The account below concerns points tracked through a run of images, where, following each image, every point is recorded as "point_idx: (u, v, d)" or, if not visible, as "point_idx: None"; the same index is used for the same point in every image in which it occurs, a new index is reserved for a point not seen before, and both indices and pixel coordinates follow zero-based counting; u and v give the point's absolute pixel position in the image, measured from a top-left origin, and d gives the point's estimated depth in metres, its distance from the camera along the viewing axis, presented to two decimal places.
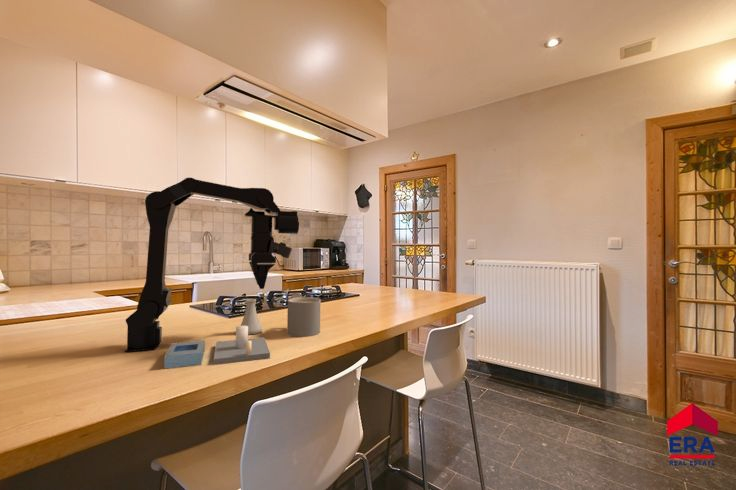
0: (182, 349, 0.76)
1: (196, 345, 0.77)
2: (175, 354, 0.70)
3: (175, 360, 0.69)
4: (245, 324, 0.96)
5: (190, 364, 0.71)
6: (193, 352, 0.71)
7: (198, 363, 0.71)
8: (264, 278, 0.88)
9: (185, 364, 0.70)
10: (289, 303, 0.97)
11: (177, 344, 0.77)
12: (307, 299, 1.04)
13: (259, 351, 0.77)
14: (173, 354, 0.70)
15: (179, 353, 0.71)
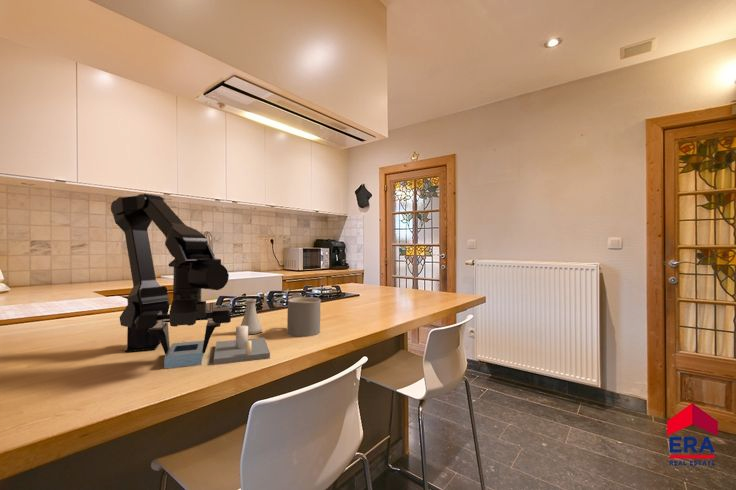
0: (182, 349, 0.76)
1: (196, 345, 0.77)
2: (175, 354, 0.70)
3: (175, 360, 0.69)
4: (245, 324, 0.96)
5: (190, 364, 0.71)
6: (193, 352, 0.71)
7: (198, 363, 0.71)
8: None
9: (185, 364, 0.70)
10: (289, 303, 0.97)
11: (177, 344, 0.77)
12: (307, 299, 1.04)
13: (259, 351, 0.77)
14: (173, 354, 0.70)
15: (179, 353, 0.71)
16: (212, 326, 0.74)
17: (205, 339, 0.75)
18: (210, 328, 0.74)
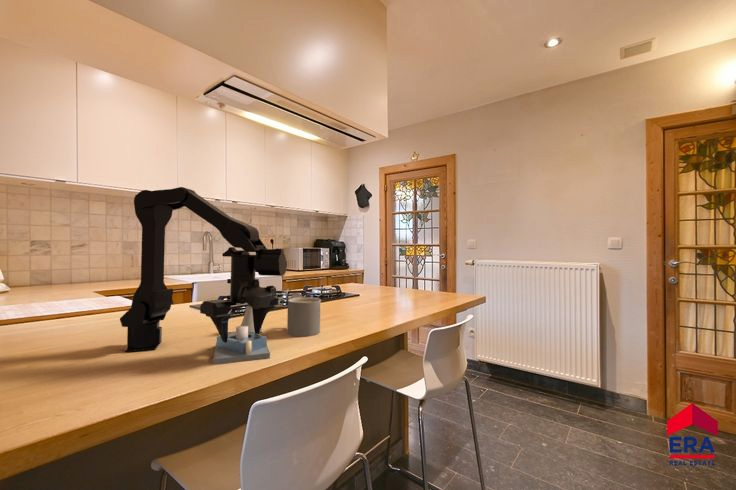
0: None
1: None
2: None
3: None
4: (245, 324, 0.96)
5: (259, 348, 0.79)
6: (259, 337, 0.80)
7: (264, 346, 0.80)
8: (222, 331, 0.75)
9: (256, 348, 0.78)
10: (289, 303, 0.97)
11: None
12: (307, 299, 1.04)
13: (259, 351, 0.77)
14: None
15: (249, 340, 0.77)
16: (270, 308, 0.84)
17: (261, 321, 0.84)
18: (267, 310, 0.84)
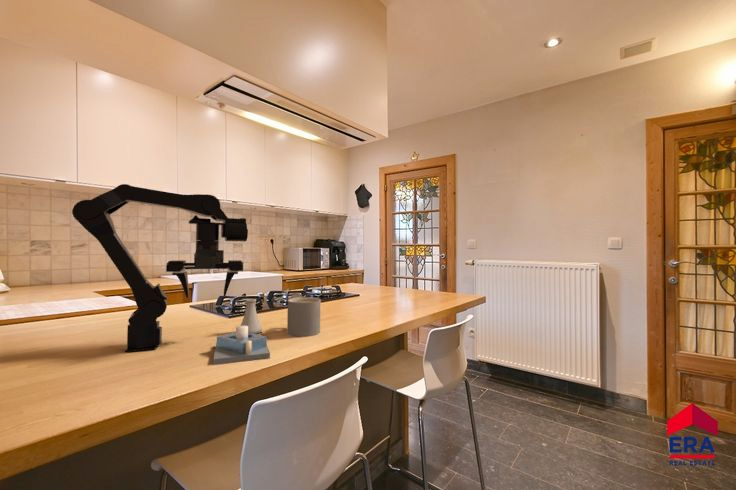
0: None
1: None
2: None
3: None
4: (245, 324, 0.96)
5: (259, 348, 0.79)
6: (259, 337, 0.80)
7: (264, 346, 0.80)
8: None
9: (256, 348, 0.78)
10: (289, 303, 0.97)
11: (224, 336, 0.80)
12: (307, 299, 1.04)
13: (259, 351, 0.77)
14: None
15: (249, 340, 0.77)
16: (231, 273, 0.90)
17: (225, 284, 0.91)
18: (230, 275, 0.90)
